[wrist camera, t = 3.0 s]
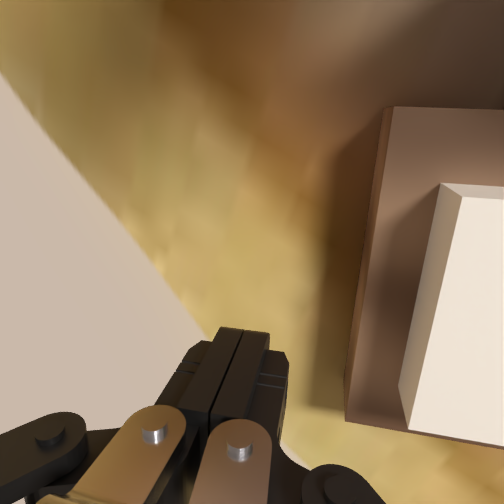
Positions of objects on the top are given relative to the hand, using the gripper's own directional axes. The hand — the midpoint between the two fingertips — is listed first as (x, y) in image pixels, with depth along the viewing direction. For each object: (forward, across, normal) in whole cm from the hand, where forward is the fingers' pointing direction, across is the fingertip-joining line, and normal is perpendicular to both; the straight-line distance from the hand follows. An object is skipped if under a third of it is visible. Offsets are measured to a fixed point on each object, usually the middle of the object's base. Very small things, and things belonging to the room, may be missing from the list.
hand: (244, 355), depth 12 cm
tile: (+4, -9, 0) cm, 10 cm away
